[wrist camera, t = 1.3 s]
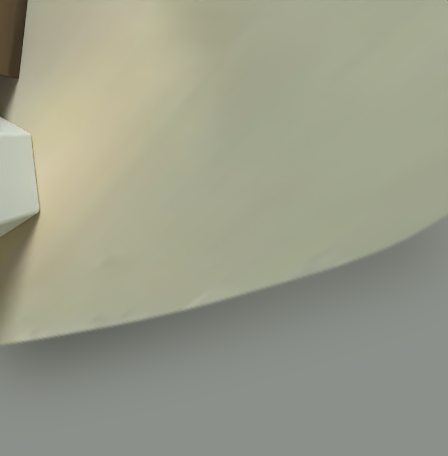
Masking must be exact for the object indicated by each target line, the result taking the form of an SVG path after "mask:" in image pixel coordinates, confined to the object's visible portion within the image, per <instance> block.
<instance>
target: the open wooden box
mask: <svg viewBox="0 0 448 456" xmlns="http://www.w3.org/2000/svg"><path fill="white" fill-rule="evenodd" d="M26 8H27V0H0V74H1V75H6V76H10V77H14V78H18V79H19V70H20V61H21V52H22V43H23V34H24V25H25V16H26Z"/></svg>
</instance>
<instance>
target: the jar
mask: <svg viewBox="0 0 448 456" xmlns="http://www.w3.org/2000/svg"><path fill="white" fill-rule="evenodd" d="M38 212H39V201H38V192H37V183H36V175H35V166H34V157H33V148H32V139H31V135H30V134H29V133H28V132H26V131H25V130H23V129H21V128H19V127H18V126H16V125H14V124H12V123H11V122H9V121H7V120H5V119H4V118H2V117H0V237H1V236H3V235H4V234H6V233H7V232H9V231H10V230H12V229H13V228H15V227H17V226H18V225H20V224H21V223H23V222H24V221H26V220H27V219H29V218H30V217H32V216H34V215H35V214H37V213H38Z"/></svg>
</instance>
